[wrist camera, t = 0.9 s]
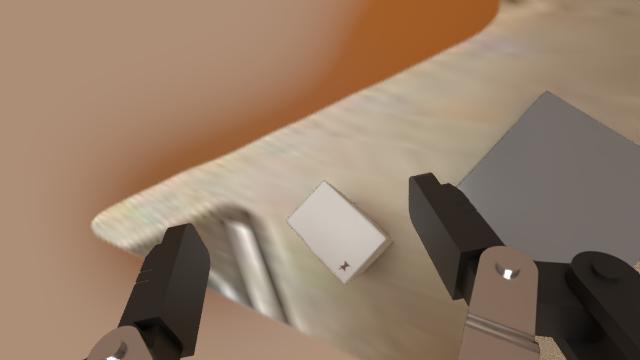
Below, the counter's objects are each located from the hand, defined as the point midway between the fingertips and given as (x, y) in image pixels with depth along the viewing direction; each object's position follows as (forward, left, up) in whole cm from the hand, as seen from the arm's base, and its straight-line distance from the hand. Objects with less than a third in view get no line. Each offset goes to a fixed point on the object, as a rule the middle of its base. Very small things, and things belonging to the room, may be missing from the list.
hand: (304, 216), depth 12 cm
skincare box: (+1, -1, -22) cm, 22 cm away
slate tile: (-14, +10, -22) cm, 28 cm away
